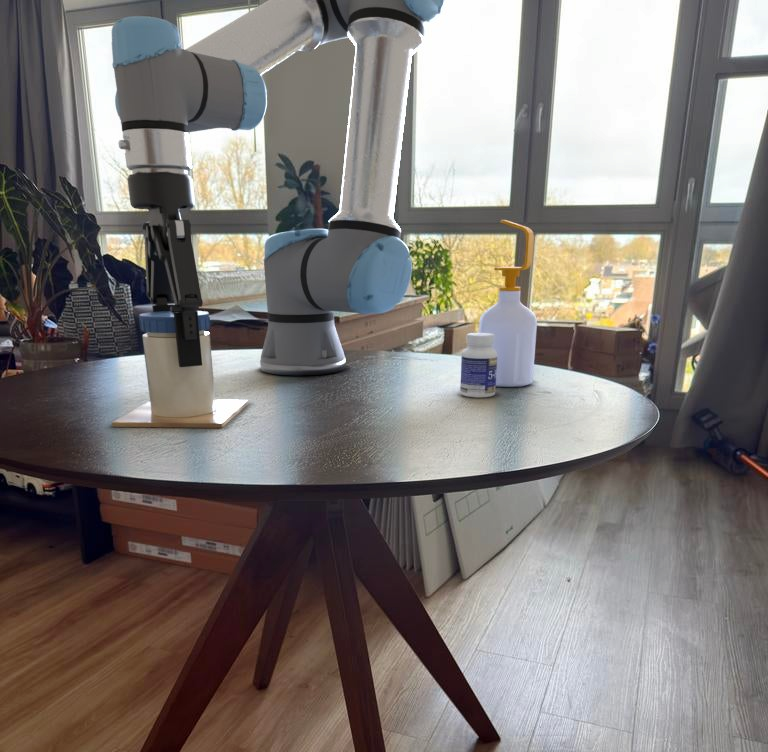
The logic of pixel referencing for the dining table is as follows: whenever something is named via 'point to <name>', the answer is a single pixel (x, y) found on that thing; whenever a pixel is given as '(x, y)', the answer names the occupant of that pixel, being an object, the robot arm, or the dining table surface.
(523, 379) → the soap bottle
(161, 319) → the lid
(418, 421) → the dining table surface
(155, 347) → the jar
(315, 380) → the dining table surface
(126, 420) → the mat
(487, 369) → the pill bottle
